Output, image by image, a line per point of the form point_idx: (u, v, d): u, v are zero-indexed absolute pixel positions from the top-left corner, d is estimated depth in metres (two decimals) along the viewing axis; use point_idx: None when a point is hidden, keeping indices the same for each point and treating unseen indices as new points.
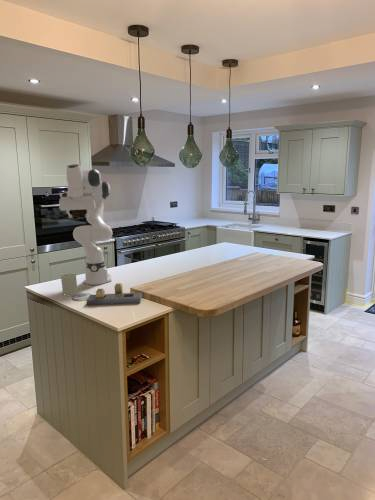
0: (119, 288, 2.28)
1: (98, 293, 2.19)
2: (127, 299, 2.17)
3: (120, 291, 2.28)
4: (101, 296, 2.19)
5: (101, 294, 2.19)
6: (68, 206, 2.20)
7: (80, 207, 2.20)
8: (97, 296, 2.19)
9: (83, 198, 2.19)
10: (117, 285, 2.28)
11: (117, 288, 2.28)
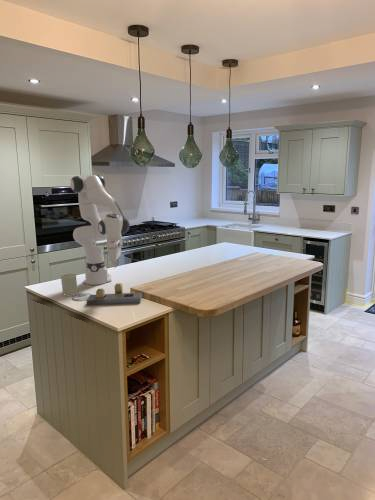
0: (119, 288, 2.28)
1: (98, 293, 2.19)
2: (127, 299, 2.17)
3: (120, 291, 2.28)
4: (101, 296, 2.19)
5: (101, 294, 2.19)
6: (117, 255, 2.21)
7: (119, 254, 2.27)
8: (97, 296, 2.19)
9: None
10: (117, 285, 2.28)
11: (117, 288, 2.28)
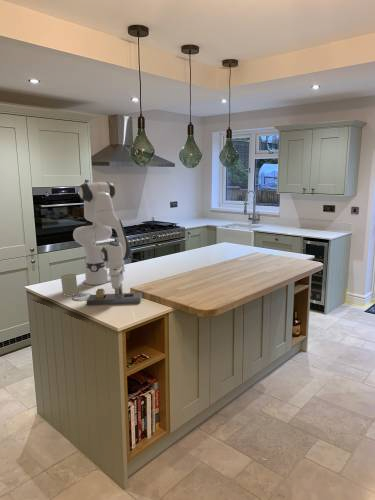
0: (119, 288, 2.28)
1: (98, 293, 2.19)
2: (127, 299, 2.17)
3: (120, 291, 2.28)
4: (101, 296, 2.19)
5: (101, 294, 2.19)
6: (119, 282, 2.24)
7: (121, 281, 2.30)
8: (97, 296, 2.19)
9: None
10: None
11: None
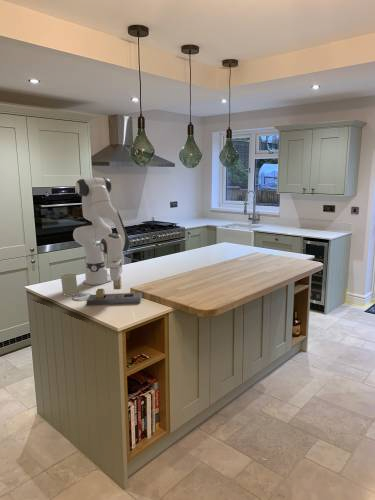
0: None
1: (98, 293, 2.19)
2: (127, 299, 2.17)
3: None
4: (101, 296, 2.19)
5: (101, 294, 2.19)
6: (118, 274, 2.24)
7: (120, 273, 2.30)
8: (97, 296, 2.19)
9: None
10: None
11: None
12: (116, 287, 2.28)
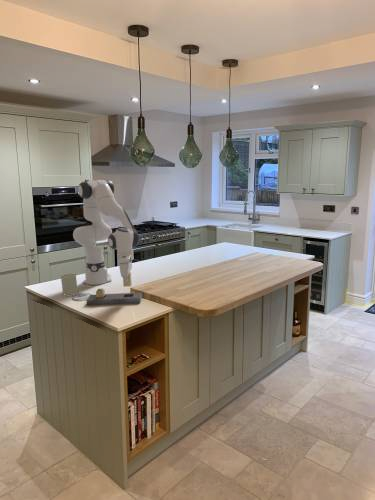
0: None
1: (98, 293, 2.19)
2: (127, 299, 2.17)
3: (129, 280, 2.17)
4: (101, 296, 2.19)
5: (101, 294, 2.19)
6: (128, 270, 2.13)
7: (130, 269, 2.20)
8: (97, 296, 2.19)
9: None
10: None
11: None
12: (126, 284, 2.18)
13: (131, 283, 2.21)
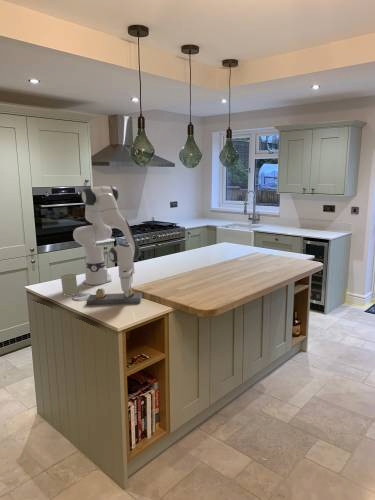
0: (129, 292, 2.19)
1: (98, 293, 2.19)
2: (127, 299, 2.17)
3: (130, 295, 2.19)
4: (101, 296, 2.19)
5: (101, 294, 2.19)
6: (129, 284, 2.15)
7: (131, 283, 2.22)
8: (97, 296, 2.19)
9: None
10: None
11: None
12: None
13: None
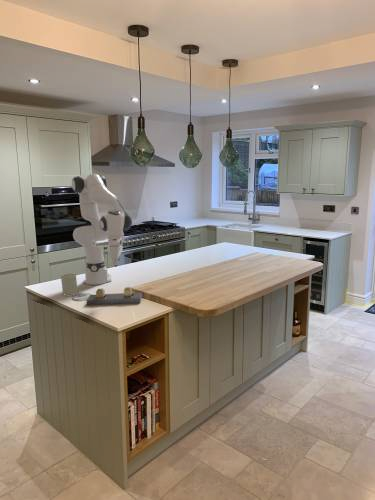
0: (129, 292, 2.19)
1: (98, 293, 2.19)
2: (127, 299, 2.17)
3: (130, 295, 2.19)
4: (101, 296, 2.19)
5: (101, 294, 2.19)
6: (118, 253, 2.16)
7: (120, 252, 2.23)
8: (97, 296, 2.19)
9: None
10: (126, 289, 2.19)
11: (126, 292, 2.19)
12: None
13: None
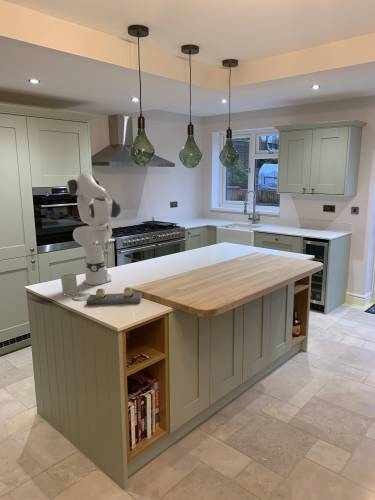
0: (129, 292, 2.19)
1: (98, 293, 2.19)
2: (127, 299, 2.17)
3: (130, 295, 2.19)
4: (101, 296, 2.19)
5: (101, 294, 2.19)
6: (105, 238, 2.20)
7: (108, 238, 2.26)
8: (97, 296, 2.19)
9: None
10: (126, 289, 2.19)
11: (126, 292, 2.19)
12: None
13: None
